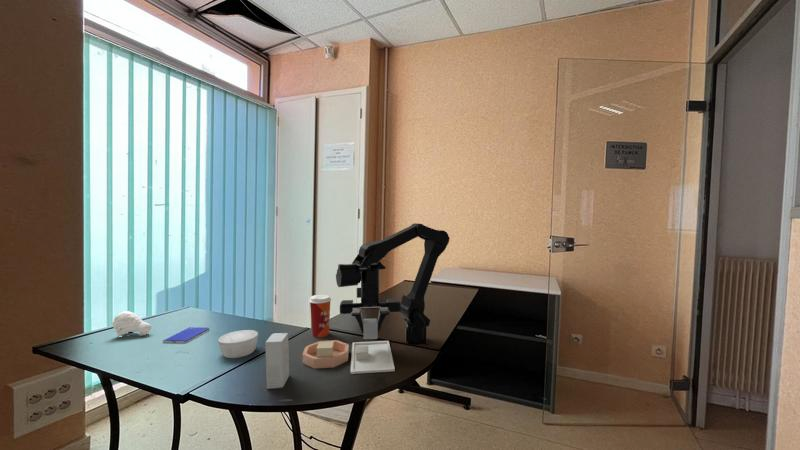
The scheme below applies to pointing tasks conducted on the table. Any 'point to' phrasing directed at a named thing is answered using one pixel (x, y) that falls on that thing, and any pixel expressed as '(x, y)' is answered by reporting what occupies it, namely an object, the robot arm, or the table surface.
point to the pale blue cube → (370, 328)
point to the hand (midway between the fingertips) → (370, 332)
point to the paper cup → (320, 315)
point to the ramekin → (238, 343)
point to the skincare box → (277, 360)
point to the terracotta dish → (326, 362)
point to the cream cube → (325, 349)
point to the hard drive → (186, 335)
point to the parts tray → (373, 358)
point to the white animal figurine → (130, 324)
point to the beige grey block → (362, 353)
